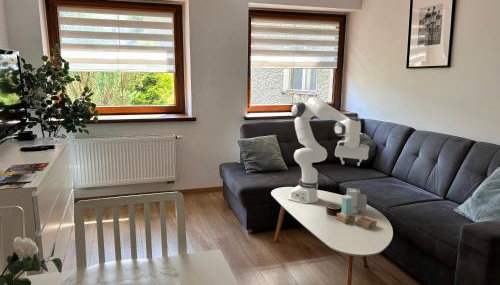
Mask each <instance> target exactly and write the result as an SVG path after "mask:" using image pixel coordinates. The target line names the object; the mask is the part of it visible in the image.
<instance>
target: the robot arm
mask: <svg viewBox="0 0 500 285" xmlns="http://www.w3.org/2000/svg"><path fill="white" fill-rule="evenodd" d="M290 111H291V112H290V113H291V114H292V116H293V117H295V119H294V129H295V133H296V136H297V139H298V142H299V144H301V145H303V146H304V147H301V148H299V149H295V151H294V153H293V158H294V161H295V163H297V164H298V165H299V167H300V169H301V178H300V179H299V180H298V185H296V186H295V187H293V188H292V189H291V192H290V193H289V194H288V195H287V197H286V198H287V200H288V201H291V202H296V203H301V204H312V203H314V204H315V203H317V202H318V201H319V195H318V188H319V187H318V186H319V182H318V173H319V172H318V170H317V169H316V168H315V167H313V164H314V163H320V162H323V161H325V160H326V159H327V157H328V152H327V149H326V148H325V147H323V146H321V145H320V144H319V142H317V140H316V139H315V137H314V133H313V130H312V127H311V124H310V120H311V121H314V119H315V118H318V119H320V120H325V121H327V120H329V121H330V120H331V121H336V122H335V123H334V126H333V130H334V133H335V135H336V136H338V137H344V139H342V140H338V141H337V145H336V147H335V150H334V156H335V157H336V158H339V159H340V161H341V165H345V161H344V160H343V158H346V159H355V160H359V162H356V166H357V167H359V166H360V164H361V162H362V161H363V160H365V161H366V160H368V159H369V151H370V146H369V145H368V144H362V143H360V141H361V138H360V136H361V130H362V125H361V120H360V118H358V117H355V116H348V115H346V114H344V113H343V112H342V111H340V110H338V109H336V108H334V107H333V106H331V105H330V104H328V103H327V102H325V101H324V100H323V99H321V98H318V97H316V96H311V97H310V98H309V99H307V102H299V101H298V102H295V103H293V104H292V106H291V108H290Z"/></svg>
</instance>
